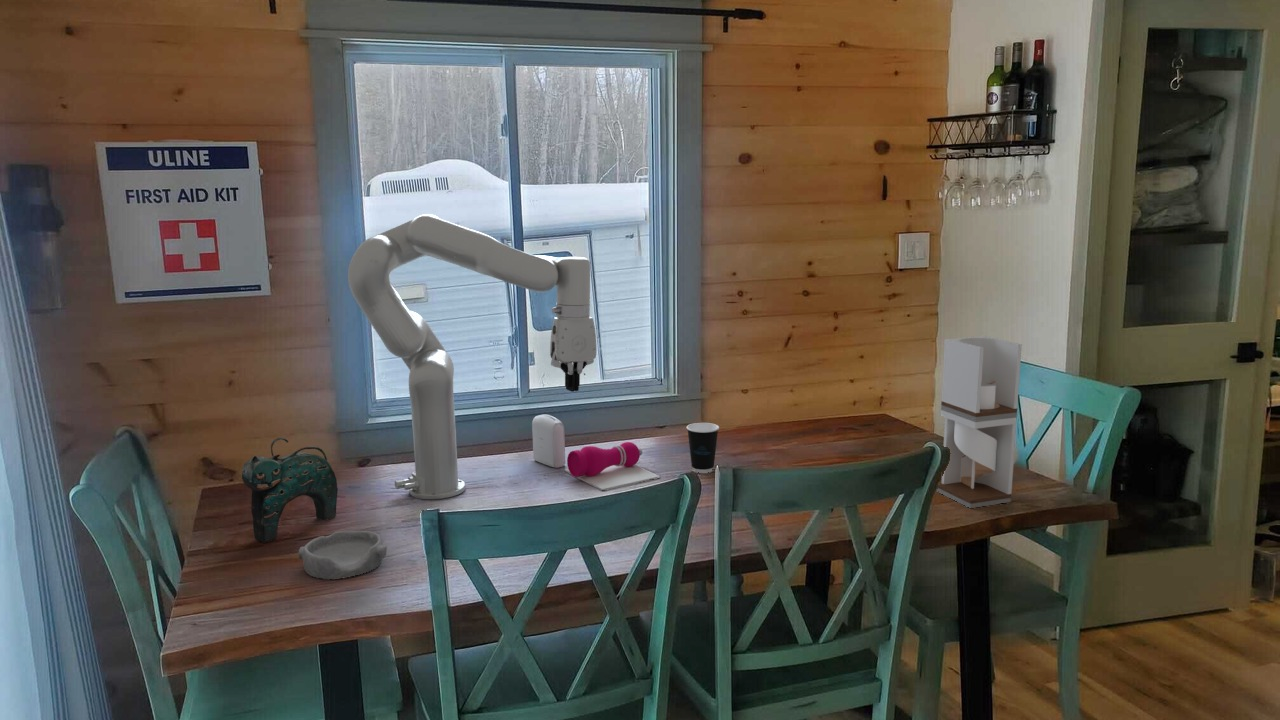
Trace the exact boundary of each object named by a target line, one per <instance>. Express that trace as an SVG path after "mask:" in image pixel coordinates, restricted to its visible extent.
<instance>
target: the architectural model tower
mask: <svg viewBox="0 0 1280 720" xmlns="http://www.w3.org/2000/svg"><path fill="white" fill-rule="evenodd" d="M943 344H944V347H943V364H942V365H943V366H942V385H941V387H942V388H941V404H940V405H941V406H940V416H941V417H943V418H944V427H943V428H944V430H943V446H944V447H948V448H949V449H950V453H951V454H950V461H949V464H948V466H947V468H946V470H945V471H944V474H943V476H942V475H941V483H938V484H939V486H938V489H937V488H936V493H937V492H938V491H939V493H941V494H943V495H945V496H947V497H949V498H951V499H953V500H955V501H957V502H959V503H961V504H963V505H965V506H966V507H965V506H964V507H965V508H967V507H969V508H974V507H980V506H987V505H993V504H998V503H1005V502H1011V503H1012V490H1013V477H1014V461H1015V460H1014V459H1015V446H1016V433H1017V419H1018V418H1017V417H1018V405H1019V404H1018V403H1019V389H1020V388H1019V387H1020V373H1021V361H1022V346H1023V344H1021V343H1018V342H1017V343H1016V342H1012V341H1008V340H1004V339H999V338H995V337H991V336H987V335H981V336H980V335H979V336H971V337H956V338H944V343H943ZM939 493H938V494H939ZM941 494H940V495H941ZM943 495H942V496H943ZM945 496H944V497H945ZM947 497H946V498H947ZM949 498H948V499H949ZM951 499H950V500H951ZM953 500H952V501H953ZM955 501H954V502H955ZM957 502H956V503H957ZM959 503H958V504H959ZM961 504H960V505H961ZM963 505H962V506H963ZM987 507H988V506H987ZM969 508H968V509H969ZM974 509H975V508H974Z"/></svg>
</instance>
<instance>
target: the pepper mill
mask: <svg viewBox="0 0 1280 720" xmlns="http://www.w3.org/2000/svg"><path fill="white" fill-rule="evenodd" d="M642 455H643V450H642V449H641V448H639V447H638V446H637V445H636V444H635V443H634V442H631V441H626V442H622V443H621V444H620V445H616V446H613V447H612V448H600V447H597V446H593V445H589V446H587V445H586V446H583V447H582V448H581V449H576V450H571V451H570V452H568V455H567V459H566V464H567V469H569V471H570V473H571V474H570V475H571V476H573V477H574V478H577V477H580V476H583V475H586V476H589V477H590V476H595V475H597V474H599V473H600V472H602V471H603V470H604V469H606V468H607V467H610V466H613V465H615V466H623V465H624V466H633V465H637V463H638V462H639V459H640V456H642Z"/></svg>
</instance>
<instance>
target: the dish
mask: <svg viewBox="0 0 1280 720" xmlns="http://www.w3.org/2000/svg"><path fill="white" fill-rule="evenodd" d="M387 550H388V546H387V545H383V541H382V538H381V536H380V535H379V534H378V533H376V532H372V531H369V530H339V531H335V532H333V533H331V534H330V535H327V536H324V535H321V536H318V537H315V538H313V539H312V540H310V541H309V542H307V543H306V544H305V545H304V546H300V548H299V549H298V558H299V559H300V560H302V564H303V568H304V571H305V573H306V574H308V575H309V576H311V577H312V576H313V577H312V578H315V577H316V579H319V578H323V579H322V580H330V579H332V580H335V579H334V578H343V577H349V576H354V577H356V576H355V575H358V576H360V575H359V574H361V575H364V574H367V573H369V571H370V572H372V571H374V570H376V569H377V568H378V567H379V566H380V565H381V564H382V561H383V559H384V558H385V557H386V556H387ZM376 567H377V568H376ZM373 569H374V570H373ZM371 570H372V571H371ZM366 572H367V573H366ZM363 573H364V574H363ZM349 578H350V577H349ZM343 579H344V578H343Z"/></svg>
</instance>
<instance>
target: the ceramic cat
mask: <svg viewBox="0 0 1280 720" xmlns="http://www.w3.org/2000/svg"><path fill="white" fill-rule="evenodd" d="M280 440H282V441H284V442H286V443H289V440H288V439H287V438H285V437H277V438H276V439H274V440H272V442H271V444H270V453H271V457H267V456H256V455H254V456H253V457H252V458H250V459H248V460H247V461H245V463H244V464H243V466H242V471H241V479H242V483H244V485H245V486H246V487H248V488H249V489H251V511H250V512H251V515H252V516H251V517H252V526H253V527H252V528H253V535H254V540H255V539H256V541H258V542H260V541H262V542H261V543H263V542H264V543H263V544H266V543H265V542H267V543H269V542H272V541H275V540H277V538H278V529H279V528H278V527H279V521H280V518H281V516H282V514H283V511H284V509H285V507H286V505H288V504H289V502H291V501H293V500H295V499H296V498H297V499H298V497H301V496H306V497H309V498H310V499H312V501H313V504H314V508H315V516H316V518H317V519H320V520H321V519H322V521H326V520H327V519H328V520H331V519H333V517H334V518H335V517H336V516H337V500H338V490H339V489H338V482H337V480H338V479H337V476H336V475H335V471H334V469H333V468H332V466H331V464H330V463H329V462H328V458H327V456H326V454H325V452H324V450H323V449H322V448H320V447H318V446H317V447H316V446H304V447H301V448H300V449H297V450H295V451H294V452H293V453H290V454H288V455H285V456H282V457H281V454H275V455H274V452H273V446H274V445H275V443H276V442H277V441H280ZM304 450H317V451H319V452H320V453H321V454H322V455H323V457H322V456H320V455H317V454H314V453H309V452H301V451H304ZM279 457H281V458H279ZM328 520H327V521H328ZM274 539H275V540H274ZM271 540H272V541H271ZM268 541H269V542H268Z"/></svg>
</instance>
